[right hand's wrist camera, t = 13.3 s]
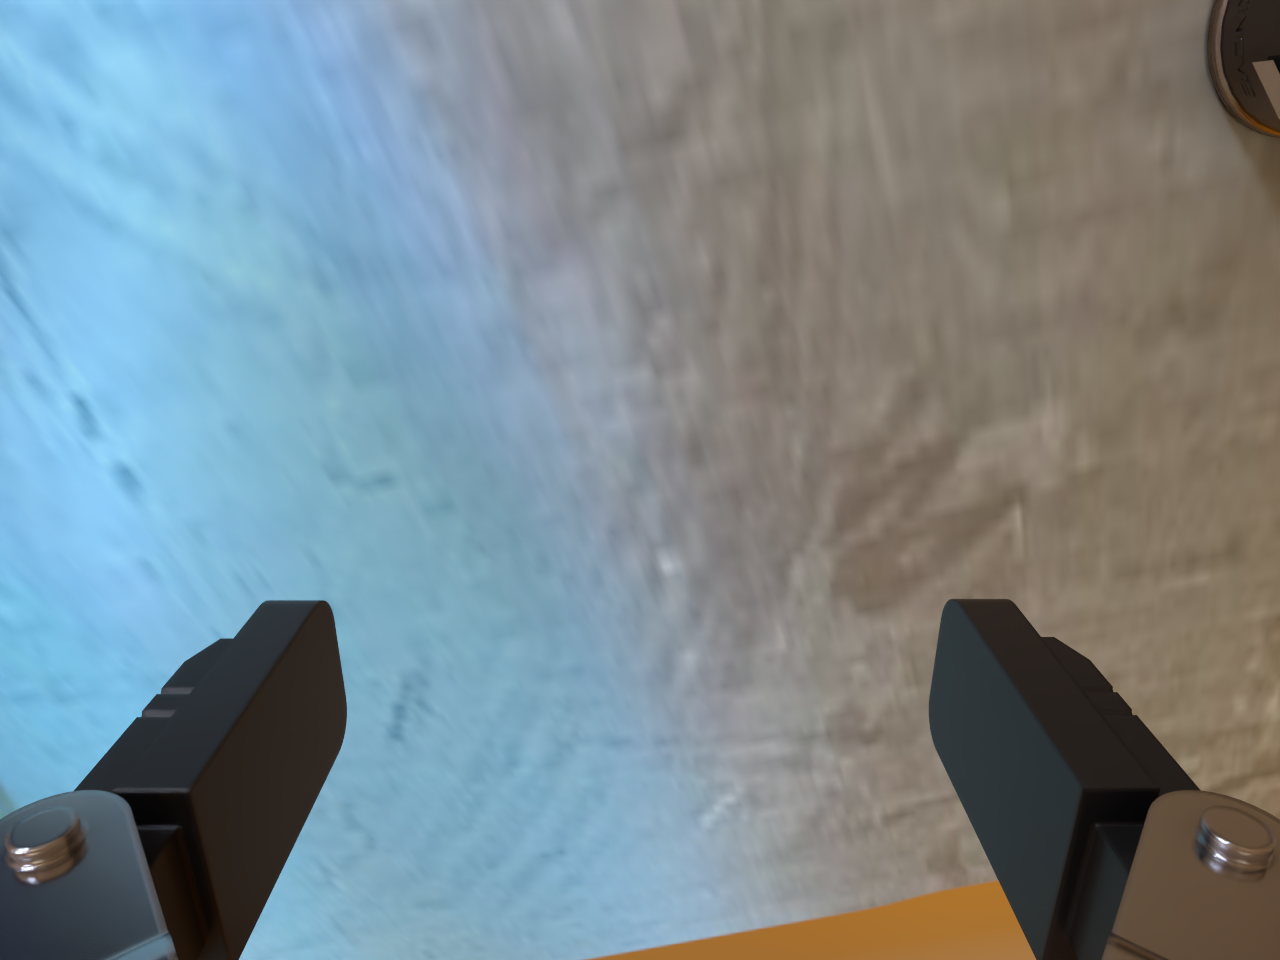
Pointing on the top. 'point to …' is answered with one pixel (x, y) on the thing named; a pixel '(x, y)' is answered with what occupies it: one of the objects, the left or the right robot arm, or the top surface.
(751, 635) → the top surface
